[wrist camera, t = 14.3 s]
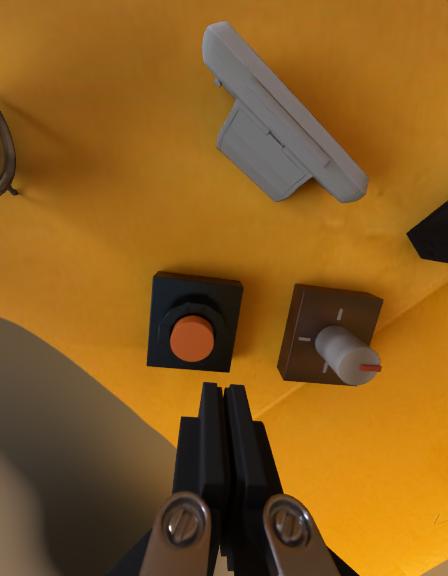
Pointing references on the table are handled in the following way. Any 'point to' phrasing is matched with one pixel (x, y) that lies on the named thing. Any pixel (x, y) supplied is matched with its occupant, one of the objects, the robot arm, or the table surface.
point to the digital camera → (432, 235)
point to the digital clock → (274, 126)
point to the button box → (193, 301)
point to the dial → (347, 355)
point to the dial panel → (313, 319)
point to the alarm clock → (6, 159)
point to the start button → (192, 338)
